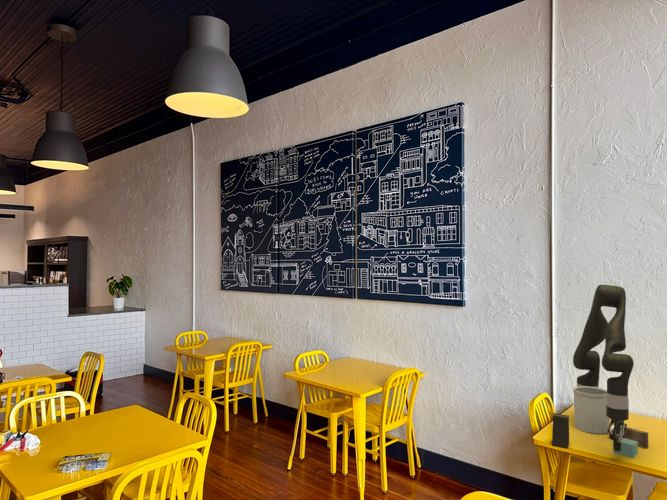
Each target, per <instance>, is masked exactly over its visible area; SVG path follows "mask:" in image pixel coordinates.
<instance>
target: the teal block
mask: <svg viewBox="0 0 667 500" xmlns="http://www.w3.org/2000/svg"><path fill="white" fill-rule="evenodd" d="M638 452H639V447H638V442H637V441H633V440H629V439H625V438H622V441H621V451H619V452H618V451H615V450H614V449H613V454H617V455H621V456H624V457H627V458H630V459H631V458H632V459H634V458H635V457H636V456H637V455H639V453H638Z"/></svg>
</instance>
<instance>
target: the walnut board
mask: <svg viewBox="0 0 667 500" xmlns="http://www.w3.org/2000/svg"><path fill="white" fill-rule="evenodd" d="M610 428H611V427H610V423H609V429H610ZM624 438H625V439H629V440H633V441H637V442H638V448H643V449H646V450H647V449H648V448H649V432H646V431H643V430H638V429H635V428H632V427H628V426H627V427H626V431H625V435H624ZM608 439H610V436H609V435H608ZM610 440H611V439H610Z"/></svg>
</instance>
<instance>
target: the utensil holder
mask: <svg viewBox="0 0 667 500" xmlns="http://www.w3.org/2000/svg"><path fill="white" fill-rule="evenodd" d="M572 392H573V407H574V408H573V411H574V412H573V413H574V428H576V429H577V430H579V431H582V432H585V433H589V434H593V435H594V434H596V435H597V434H598V435H604V434H608V431H607V429H608V428H609V424H610V421H611V419H610V418H609V417H607V416H606V396H607V389H605V388H601V387H599V388H597V387H589V386H579V387H577V386H575V387H573V389H572Z"/></svg>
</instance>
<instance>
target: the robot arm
mask: <svg viewBox="0 0 667 500" xmlns="http://www.w3.org/2000/svg"><path fill="white" fill-rule="evenodd" d="M626 296H627V294H626V291H625V287H621V286H618V285H609V284H598V285H597V287H596V288H595V291H594V296H593V299H592V302H591V303H592V304H591V308H590V311H589V315H588V317H587V320H586V323H585V325H584V328H583V331H582V335H581V338H580V341H579V343H578V345H577V347H576V349H575V351H574V353H573V357H572V364H573V367H575V368H576V369H577V370H583V371H588V372H586V373H584V374H581V375H578V376H577V377H576V387H579V386H589V387H597V388H600V387H599V386H600V385H599V382H600V369H601V365H602V368H603V369H604V370H605V371H606V372H611V373H612V372H613V373H614V372H615V373H621V374H620V375H619V376H613V377H612V376H611V377H608V378H607V379H606V390H607V396H606V416H607V417H609V418H610V421H609V424H610V427H611V428H610V429H609V428H608V429H607V431H608V433H607V434H608V437H609V436H610V440H611V441H612V444H613V449H614V450H615V451H618V452H619V451H621V441H622V438H624V435H625V431H626V427H628V424H627V423H625V421H627V420H629V419H630V408H629V407H630V406H629V404H630V403H629V402H630V401H629V381H630V377H631V375H632V371H633V369H634V366H635V365H634V363H635V362H634V360H633V359H634V358H633V357H632V356H631V355H629V354H627V353H626V354H625V353H619V352H623V351H625V350H626V348H627V344H626V343H627V341H626V335H625V332H626V331H625V323H626V322H625V321H626V309H627V308H626V307H627V306H626V305H627V297H626ZM602 307H606V308H607V307H608V308H614V309H615V312H614V315H613V317H612V318H611V319H610V320H609V321H608V320H607V319H606V317H605V315H604V313H603V311H602ZM604 341H605V346H604V352H603V355H602V358H601V357H600V354H599V353H598V352H597V351H596V350H593V349H594V348H596V347H597V346H599V345H601V343H602V342H604Z"/></svg>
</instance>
